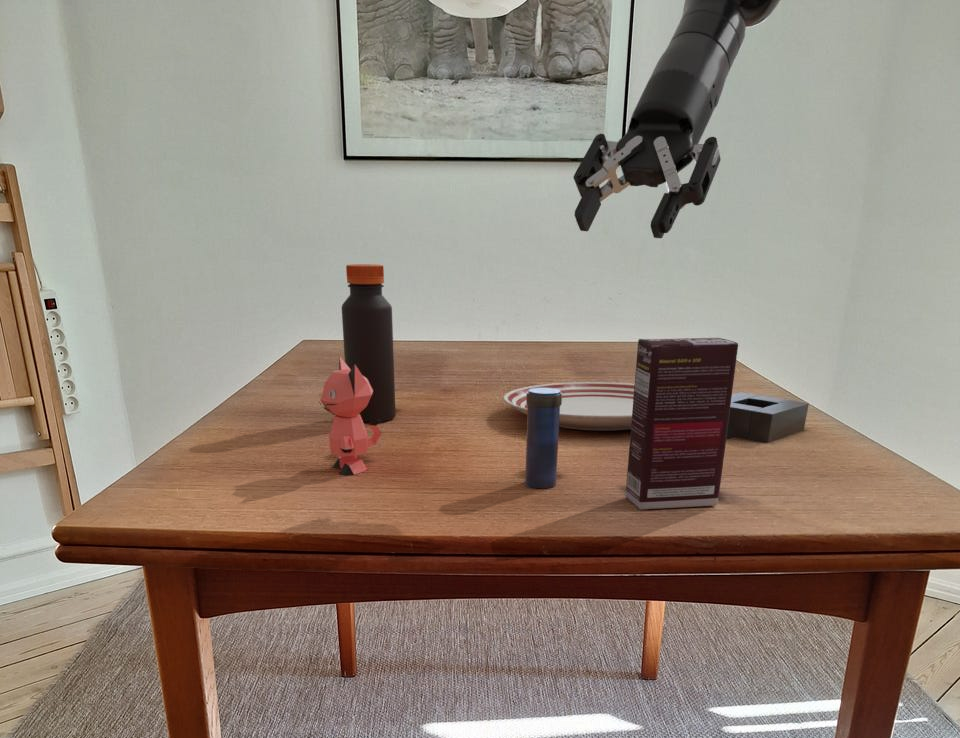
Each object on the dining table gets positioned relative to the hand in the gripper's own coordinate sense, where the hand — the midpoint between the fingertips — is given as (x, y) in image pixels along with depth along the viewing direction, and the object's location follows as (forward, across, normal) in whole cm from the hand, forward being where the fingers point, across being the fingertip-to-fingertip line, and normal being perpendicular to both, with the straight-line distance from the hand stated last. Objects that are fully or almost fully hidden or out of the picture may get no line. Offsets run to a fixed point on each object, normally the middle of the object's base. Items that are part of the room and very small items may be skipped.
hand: (617, 229), depth 86 cm
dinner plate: (+4, -12, +35) cm, 37 cm away
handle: (+25, -1, +10) cm, 27 cm away
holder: (+1, +10, +36) cm, 38 cm away
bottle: (+18, -38, +21) cm, 47 cm away
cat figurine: (+31, -22, +5) cm, 38 cm away
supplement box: (+23, +13, +12) cm, 29 cm away
